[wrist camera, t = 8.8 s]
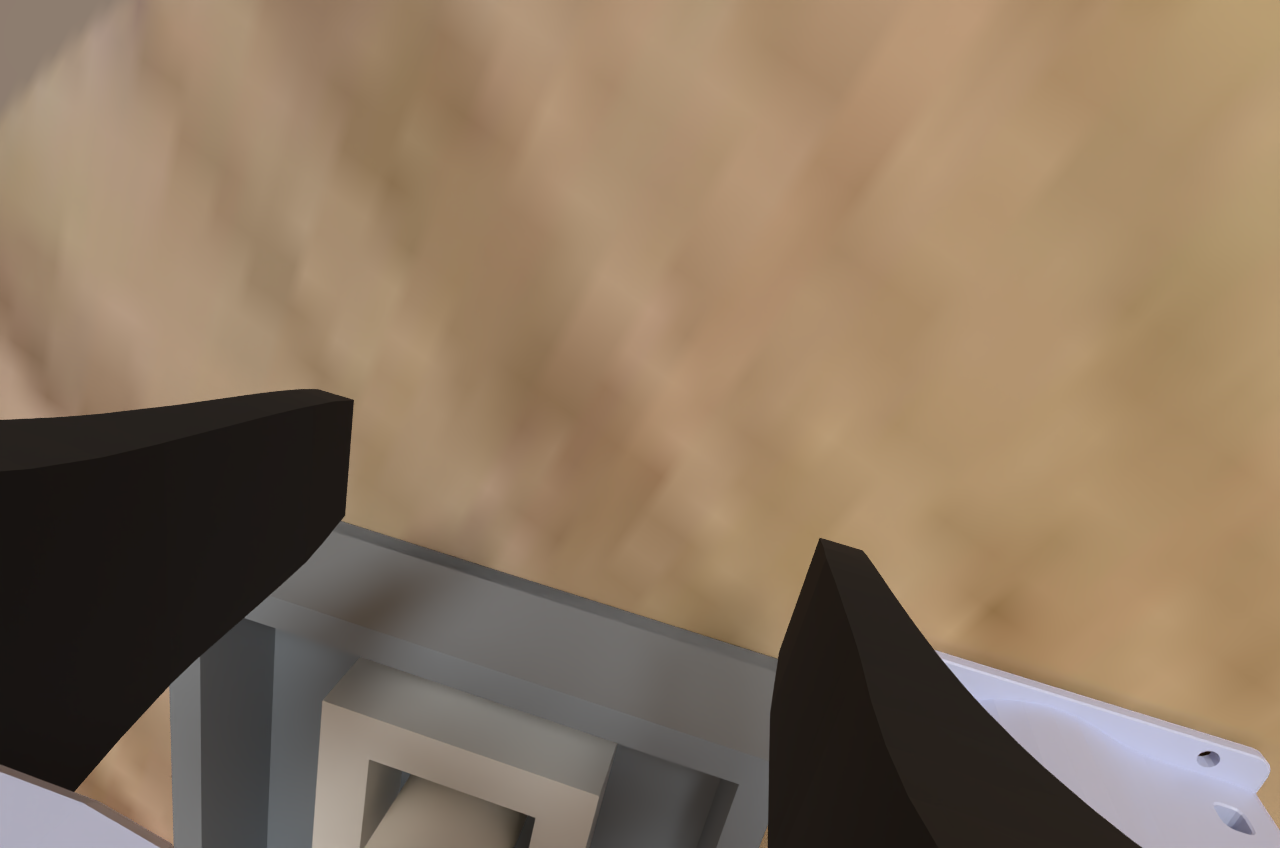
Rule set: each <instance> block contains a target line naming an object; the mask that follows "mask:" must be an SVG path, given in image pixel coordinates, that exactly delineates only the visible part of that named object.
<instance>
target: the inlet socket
mask: <svg viewBox="0 0 1280 848" xmlns="http://www.w3.org/2000/svg"><path fill="white" fill-rule="evenodd" d="M617 744H618V743H615V742H612V741H609V740H606V739H603V738H600V737H597V736H594V735H591V734H588V733H585V732H582V731H579V730H576V729H573V728H570V727H567V726H564V725H561V724H558V723H555V722H552V721H549V720H546V719H543V718H540V717H537V716H534V715H531V714H528V713H525V712H523V711H520V710H517V709H514V708H511V707H508V706H505V705H502V704H499V703H496V702H493V701H490V700H487V699H484V698H481V697H478V696H475V695H472V694H469V693H466V692H463V691H460V690H457V689H454V688H451V687H448V686H445V685H442V684H439V683H436V682H433V681H430V680H427V679H424V678H421V677H418V676H416V675H413V674H410V673H407V672H404V671H401V670H398V669H395V668H392V667H389V666H386V665H383V664H380V663H377V662H374V661H371V660H368V659H365V658H362V657H360V658H359V659H358V660H357V661H356V662H355V664H354V665H353V666H352V667H351V668H350V669H349V671H348V672H347V673H346V674H345V675H344V676H343V677H342V679H341V680H340V681H339V682H338V683H337V684H336V686H335V687H334V688H333V689H332V690H331V691H330V692H329V694H328V695H327V696H326V697H325V698H324V699H323V701H322V714H321V728H320V742H319V756H318V770H317V784H316V798H315V812H314V826H313V840H312V848H364V847H365V846H366V844H367V843H368V841H369V839H370V838H371V836H372V835H373V833H374V832H375V830H376V828H377V827H378V825H379V824H380V822H381V821H382V819H383V817H384V816H385V814H386V813H387V811H388V810H389V808H390V806H391V805H392V803H393V802H394V800H395V799H396V797H397V795H398V794H399V791H400V783H401V775H402V771H404V772H407V773H410V774H412V775H415V776H418V777H421V778H424V779H427V780H429V781H432V782H435V783H438V784H441V785H444V786H446V787H449V788H452V789H455V790H458V791H461V792H464V793H466V794H469V795H472V796H475V797H478V798H481V799H483V800H486V801H489V802H492V803H495V804H498V805H500V806H503V807H506V808H509V809H512V810H515V811H517V812H520V813H523V814H526V815H529V816H532V817H534V818H535V823H534V827H533V832H532V836H531V840H530V845H529V848H590V844H591V840H592V837H593V833H594V829H595V825H596V822H597V818H598V814H599V811H600V807H601V803H602V799H603V796H604V792H605V788H606V785H607V781H608V777H609V774H610V770H611V766H612V762H613V759H614V755H615V751H616V748H617Z"/></svg>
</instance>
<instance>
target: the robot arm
mask: <svg viewBox="0 0 1280 848" xmlns="http://www.w3.org/2000/svg"><path fill="white" fill-rule="evenodd" d="M353 404H354V400H352V399H349V398H345V397H342V396H339V395H335V394H332V393H329V392H325V391H322V390H318V389H298V390H285V391H276V392H267V393H259V394H252V395H244V396H237V397H230V398H223V399H216V400H209V401H202V402H195V403H188V404H181V405H173V406H164V407H156V408H147V409H139V410H130V411H121V412H113V413H104V414H94V415H82V416H69V417H55V418H34V419H13V420H0V848H175V847H174V846H173V845H172V844H171V843H170V842H168V841H166V840H164V839H163V838H161V837H159V836H157V835H156V834H154V833H152V832H151V831H149V830H147V829H145V828H144V827H142V826H140V825H139V824H137V823H135V822H133V821H132V820H130V819H128V818H127V817H125V816H123V815H121V814H120V813H118V812H116V811H115V810H113V809H111V808H109V807H108V806H106V805H104V804H103V803H101V802H99V801H96V800H94V799H91V798H88V797H86V796H83V795H80V794H78V793H75V792H74V791H75V790H76V789H77V788H78V787H79V786H80V784H81V783H82V782H83V781H84V780H85V779H86V778H87V776H88V775H89V774H90V773H91V772H92V771H93V769H94V768H95V767H96V766H97V765H98V764H99V763H100V761H101V760H102V759H103V758H104V757H105V756H106V754H107V753H108V752H109V751H110V750H111V749H112V748H113V746H114V745H115V744H116V743H117V742H118V741H119V740H120V738H121V737H122V736H123V735H124V734H125V733H126V732H127V731H128V730H129V729H130V728H131V727H132V725H133V724H134V723H135V722H136V721H137V720H138V719H139V718H140V717H141V716H142V715H143V714H144V712H145V711H146V710H147V709H148V708H149V707H150V706H151V705H152V704H153V703H154V702H155V701H156V699H157V698H158V697H159V696H160V695H161V694H162V693H163V692H164V691H165V690H166V689H167V688H168V687H169V685H170V684H171V683H173V682H174V681H175V680H176V679H177V678H178V677H179V676H180V675H181V674H182V673H183V672H184V671H185V670H186V669H187V668H188V667H189V666H190V665H191V664H192V663H193V662H194V661H196V660H197V659H198V658H199V657H200V656H201V655H202V654H204V653H205V652H206V651H207V650H208V649H209V648H210V647H211V646H213V645H214V644H215V643H216V642H217V641H218V640H219V639H221V638H222V637H223V636H224V635H225V634H226V633H227V632H229V631H230V630H231V629H232V628H233V627H234V626H235V625H237V624H238V623H239V622H240V621H241V620H242V619H243V618H245V617H246V616H247V615H248V614H249V613H250V612H251V611H252V610H254V609H255V608H256V607H257V606H258V605H259V604H260V603H262V602H263V601H264V600H265V599H266V598H267V597H268V596H270V595H271V594H272V593H273V592H274V591H275V590H276V589H277V588H278V587H280V586H281V585H282V584H283V583H284V582H285V581H286V580H287V579H288V578H290V577H291V576H292V575H293V574H294V573H295V572H296V571H297V570H298V569H299V568H300V567H302V566H303V565H304V564H305V563H306V562H307V561H308V560H309V558H310V557H311V556H312V555H313V554H314V553H315V552H316V550H317V549H318V548H319V547H320V546H321V545H322V544H323V542H324V541H325V540H326V539H327V537H328V536H329V535H330V534H331V532H332V531H333V530H334V529H335V527H336V526H337V525H338V524H339V522H340V521H341V520H342V519H343V517H344V516H345V509H346V496H347V483H348V470H349V457H350V443H351V430H352V417H353ZM1205 751H1212V752H1211V753H1210V754H1209V755H1205V756H1198V755H1199V754H1200V753H1202V752H1205ZM1270 771H1271V770H1270V765H1269V763H1268V762H1267V761H1266V759H1265V758H1264V756H1263V755H1262V754H1261V753H1260V752H1259V751H1258V750H1256V749H1254V748H1252V747H1248V746H1245V745H1242V744H1239V743H1235V742H1232V741H1229V740H1226V739H1222V738H1219V737H1216V736H1213V735H1209V734H1206V733H1203V732H1200V731H1196V730H1193V729H1190V728H1187V727H1183V726H1180V725H1177V724H1174V723H1170V722H1167V721H1164V720H1161V719H1157V718H1154V717H1151V716H1148V715H1144V714H1141V713H1138V712H1135V711H1131V710H1128V709H1125V708H1122V707H1118V706H1115V705H1112V704H1109V703H1105V702H1102V701H1099V700H1095V699H1092V698H1089V697H1086V696H1082V695H1079V694H1076V693H1073V692H1069V691H1066V690H1063V689H1060V688H1056V687H1053V686H1050V685H1047V684H1043V683H1040V682H1037V681H1034V680H1030V679H1027V678H1024V677H1021V676H1017V675H1014V674H1011V673H1008V672H1004V671H1001V670H998V669H995V668H991V667H988V666H985V665H982V664H978V663H975V662H972V661H969V660H965V659H962V658H959V657H956V656H952V655H949V654H946V653H943V652H939V651H936V650H934V649H933V648H932V646H931V645H930V644H929V643H928V641H927V640H926V639H925V637H924V636H923V635H922V633H921V632H920V631H919V629H918V628H917V627H916V625H915V624H914V622H913V621H912V620H911V618H910V617H909V616H908V614H907V613H906V611H905V610H904V609H903V607H902V606H901V604H900V603H899V601H898V600H897V599H896V597H895V596H894V594H893V593H892V591H891V590H890V588H889V587H888V585H887V584H886V583H885V581H884V580H883V578H882V577H881V575H880V574H879V572H878V571H877V569H876V568H875V566H874V565H873V564H872V562H871V561H870V559H869V558H868V557H867V555H866V554H865V553H864V552H863V550H859V549H856V548H853V547H849V546H846V545H842V544H839V543H836V542H832V541H829V540H826V539H822V538H820V539H819V541H818V544H817V547H816V550H815V553H814V556H813V558H812V561H811V564H810V567H809V570H808V572H807V575H806V578H805V581H804V584H803V586H802V589H801V592H800V595H799V598H798V601H797V603H796V606H795V609H794V612H793V615H792V617H791V620H790V623H789V626H788V629H787V632H786V634H785V637H784V640H783V643H782V646H781V648H780V651H779V656H778V663H777V669H776V675H775V682H774V689H773V696H772V703H771V710H770V736H769V797H768V848H1280V830H1279V829H1278V827H1277V826H1276V824H1275V822H1274V821H1273V819H1272V818H1271V816H1270V815H1269V813H1268V812H1267V810H1266V809H1265V807H1264V806H1263V804H1262V803H1261V801H1260V799H1259V798H1258V796H1257V795H1256V793H1257V792H1258V790H1259V789H1260V787H1261V786H1262V785H1263V783H1264V782H1265V780H1266V779H1267V778H1268V776H1269V773H1270Z"/></svg>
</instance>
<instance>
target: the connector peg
mask: <svg viewBox="0 0 1280 848" xmlns="http://www.w3.org/2000/svg"><path fill="white" fill-rule="evenodd" d="M527 816H528V815H526V814H523V813H520V812H517V811H515V810H512V809H509V808H506V807H503V806H500V805H498V804H495V803H492V802H489V801H486V800H483V799H481V798H478V797H475V796H472V795H469V794H466V793H464V792H461V791H458V790H455V789H452V788H449V787H446V786H444V785H441V784H438V783H435V782H432V781H429V780H427V779H424V778H421V777H418V776H415V775H412V774H411V775H410V776H409V778H408V780H407V781H406V783H405V784H404V786H403V788H402V789H401V791H400V792H399V794H398V795H397V797H396V799H395V800H394V802H393V803H392V805H391V806H390V808H389V810H388V811H387V813H386V814H385V816H384V817H383V819H382V821H381V822H380V824H379V825H378V827H377V828H376V830H375V832H374V833H373V835H372V836H371V838H370V839H369V841H368V843H367V844H366V846H365V847H364V848H514V846H515V844H516V842H517V839H518V837H519V835H520V832H521V830H522V828H523V825H524V823H525V821H526V818H527Z"/></svg>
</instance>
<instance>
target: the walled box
mask: <svg viewBox="0 0 1280 848" xmlns="http://www.w3.org/2000/svg"><path fill="white" fill-rule="evenodd" d="M360 657H362V658H365V659H368V660H371V661H374V662H377V663H380V664H383V665H386V666H389V667H392V668H395V669H398V670H401V671H404V672H407V673H410V674H413V675H416V676H418V677H421V678H424V679H427V680H430V681H433V682H436V683H439V684H442V685H445V686H448V687H451V688H454V689H457V690H460V691H463V692H466V693H469V694H472V695H475V696H478V697H481V698H484V699H487V700H490V701H493V702H496V703H499V704H502V705H505V706H508V707H511V708H514V709H517V710H520V711H523V712H525V713H528V714H531V715H534V716H537V717H540V718H543V719H546V720H549V721H552V722H555V723H558V724H561V725H564V726H567V727H570V728H573V729H576V730H579V731H582V732H585V733H588V734H591V735H594V736H597V737H600V738H603V739H606V740H609V741H612V742H615V743H618V744H617V748H616V751H615V755H614V759H613V762H612V766H611V770H610V774H609V777H608V781H607V785H606V788H605V792H604V796H603V799H602V803H601V807H600V811H599V814H598V818H597V822H596V825H595V829H594V833H593V837H592V840H591V844H590V848H759V846H760V843H761V841H762V838H763V836H764V833H765V831H766V828H767V826H768V797H769V736H770V710H771V703H772V696H773V689H774V682H775V675H776V669H777V663H778V659H776V658H773V657H770V656H767V655H763V654H760V653H757V652H754V651H751V650H748V649H744V648H741V647H738V646H735V645H732V644H729V643H725V642H722V641H719V640H716V639H713V638H710V637H706V636H703V635H700V634H697V633H694V632H691V631H687V630H684V629H681V628H678V627H675V626H672V625H668V624H665V623H662V622H659V621H656V620H653V619H649V618H646V617H643V616H640V615H637V614H634V613H630V612H627V611H624V610H621V609H618V608H615V607H611V606H608V605H605V604H602V603H599V602H596V601H592V600H589V599H586V598H583V597H580V596H577V595H573V594H570V593H567V592H564V591H561V590H558V589H554V588H551V587H548V586H545V585H542V584H539V583H535V582H532V581H529V580H526V579H523V578H520V577H516V576H513V575H510V574H507V573H504V572H501V571H497V570H494V569H491V568H488V567H485V566H482V565H478V564H475V563H472V562H469V561H466V560H463V559H459V558H456V557H453V556H450V555H447V554H444V553H440V552H437V551H434V550H431V549H428V548H425V547H421V546H418V545H415V544H412V543H409V542H406V541H402V540H399V539H396V538H393V537H390V536H387V535H383V534H380V533H377V532H374V531H371V530H368V529H364V528H361V527H358V526H355V525H352V524H349V523H345V522H342V521H340V522H339V524H338V525H337V526H336V527H335V529H334V530H333V531H332V532H331V534H330V535H329V536H328V537H327V539H326V540H325V541H324V542H323V544H322V545H321V546H320V547H319V548H318V549H317V550H316V552H315V553H314V554H313V555H312V556H311V557H310V558H309V560H308V561H307V562H306V563H305V564H304V565H303V566H302V567H300V568H299V569H298V570H297V571H296V572H295V573H294V574H293V575H292V576H291V577H290V578H288V579H287V580H286V581H285V582H284V583H283V584H282V585H281V586H280V587H278V588H277V589H276V590H275V591H274V592H273V593H272V594H271V595H270V596H268V597H267V598H266V599H265V600H264V601H263V602H262V603H260V604H259V605H258V606H257V607H256V608H255V609H254V610H252V611H251V612H250V613H249V614H248V615H247V616H246V617H245V618H243V619H242V620H241V621H240V622H239V623H238V624H237V625H235V626H234V627H233V628H232V629H231V630H230V631H229V632H227V633H226V634H225V635H224V636H223V637H222V638H221V639H219V640H218V641H217V642H216V643H215V644H214V645H213V646H211V647H210V648H209V649H208V650H207V651H206V652H205V653H204V654H202V655H201V656H200V657H199V658H198V659H197V660H196V661H194V662H193V663H192V664H191V665H190V666H189V667H188V668H187V669H186V670H185V671H184V672H183V673H182V674H181V675H180V676H179V677H178V678H177V679H176V680H175V681H174V682H173V683H171V684H170V685H169V688H170V725H171V761H172V798H173V834H174V847H175V848H312V840H313V826H314V812H315V798H316V784H317V770H318V756H319V742H320V728H321V714H322V701H323V699H324V698H325V697H326V696H327V695H328V694H329V692H330V691H331V690H332V689H333V688H334V687H335V686H336V684H337V683H338V682H339V681H340V680H341V679H342V677H343V676H344V675H345V674H346V673H347V672H348V671H349V669H350V668H351V667H352V666H353V665H354V664H355V662H356V661H357V660H358V659H359V658H360ZM410 775H411V774H410V773H407V772H404V771H402V775H401V783H400V791H401V789H402V788H403V786H404V784H405V783H406V781H407V780H408V778H409V776H410ZM400 791H399V792H400ZM534 823H535V818H534V817H532V816H529V815H528V816H527V818H526V821H525V823H524V825H523V828H522V830H521V832H520V835H519V837H518V839H517V842H516V844H515V846H514V848H529V845H530V840H531V836H532V832H533V827H534Z"/></svg>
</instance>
